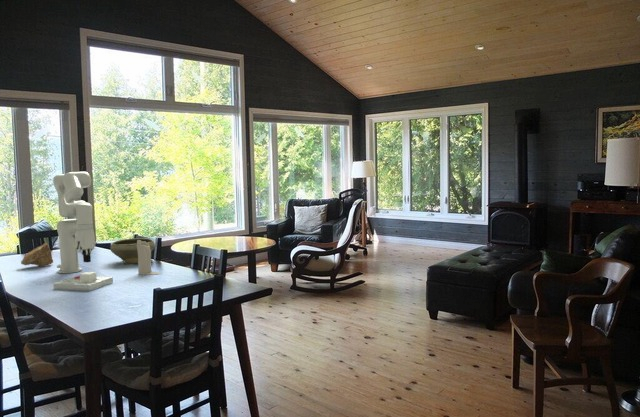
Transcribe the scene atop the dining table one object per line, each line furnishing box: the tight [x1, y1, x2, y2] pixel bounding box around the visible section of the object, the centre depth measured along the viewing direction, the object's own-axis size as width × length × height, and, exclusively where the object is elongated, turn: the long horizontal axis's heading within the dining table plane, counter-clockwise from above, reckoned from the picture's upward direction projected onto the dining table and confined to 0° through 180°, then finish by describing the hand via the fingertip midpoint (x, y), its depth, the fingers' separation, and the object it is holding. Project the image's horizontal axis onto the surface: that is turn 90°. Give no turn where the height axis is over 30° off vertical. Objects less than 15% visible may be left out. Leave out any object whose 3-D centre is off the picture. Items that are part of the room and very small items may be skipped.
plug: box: [79, 271, 97, 282], centre depth 264 cm, size 6×5×7 cm
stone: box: [20, 242, 54, 267], centre depth 320 cm, size 18×10×15 cm, turn 122°
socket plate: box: [52, 274, 114, 292], centre depth 265 cm, size 22×18×4 cm
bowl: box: [109, 237, 156, 264], centre depth 330 cm, size 28×28×14 cm
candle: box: [137, 240, 162, 276], centre depth 291 cm, size 7×14×20 cm, turn 78°
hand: (87, 261), depth 263 cm, fingers closed
